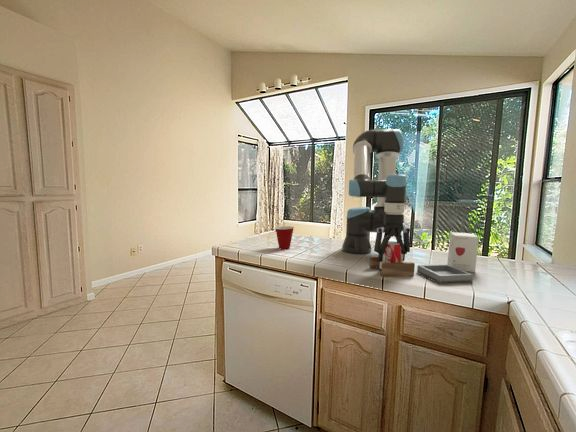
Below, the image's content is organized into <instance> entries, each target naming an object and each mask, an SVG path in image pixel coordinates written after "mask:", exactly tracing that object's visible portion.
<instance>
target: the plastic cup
mask: <svg viewBox="0 0 576 432" xmlns="http://www.w3.org/2000/svg"><path fill="white" fill-rule="evenodd" d="M294 229H295V226H291V225H289V226H286V225H285V226H276V227H274V230H275V233H276V238H277V244H278V249H279V248H281V249H280V250H284V249H286V250H290V248H291V244H292V240H293V239H292V238H293V233H294Z"/></svg>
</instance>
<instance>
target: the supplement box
mask: <svg viewBox="0 0 576 432" xmlns="http://www.w3.org/2000/svg"><path fill="white" fill-rule="evenodd" d="M479 238H480V237H479V236H477V235H476V234H475V233H468V232H467V233H466V232H455V231H454V232H453V231H450V233H449V242H448V254H447V263H446V264H448V265H450V266H453V267H455V268H458V269H460V270H463V271H465V272H468V273H476V268H477V256H478V247H479Z"/></svg>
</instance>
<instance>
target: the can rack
mask: <svg viewBox="0 0 576 432" xmlns="http://www.w3.org/2000/svg"><path fill="white" fill-rule="evenodd" d="M369 269H371V270H372V269H374V270H375V269H380V261H378V255H371V256H369ZM380 270H381V272H380V276H381V277H382V278H385V277H386V278H388V277H389V278H390V277H391V278H392V277H409V275H414V276H415V262H413V261H409V262H407V261H406V262H405V261H403V263H382V268H381V269H380Z"/></svg>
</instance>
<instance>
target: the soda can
mask: <svg viewBox="0 0 576 432" xmlns="http://www.w3.org/2000/svg"><path fill="white" fill-rule="evenodd" d="M383 254H385V263H401V246H400V243H398V242H397V241H390V240H389V241H388V244H387V246H386V249H385V251H384V253H383Z"/></svg>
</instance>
